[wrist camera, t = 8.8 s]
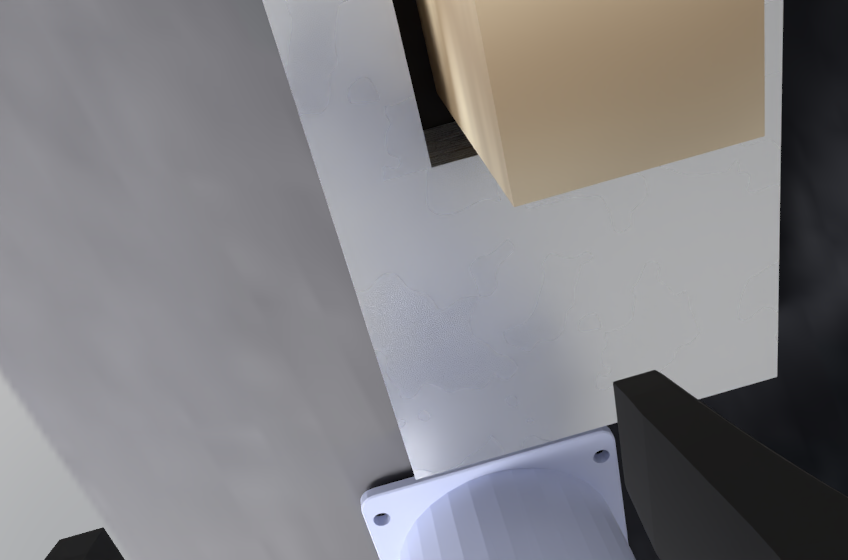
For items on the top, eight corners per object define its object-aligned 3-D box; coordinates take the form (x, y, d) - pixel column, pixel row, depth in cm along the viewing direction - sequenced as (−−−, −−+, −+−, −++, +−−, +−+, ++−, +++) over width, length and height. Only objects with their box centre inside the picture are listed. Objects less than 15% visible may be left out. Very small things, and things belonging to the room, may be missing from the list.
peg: (600, 47, 17) (764, 136, 11) (436, 92, 17) (514, 206, 11) (578, -143, 15) (764, -161, 9) (394, -93, 15) (459, -77, 9)
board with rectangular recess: (729, 327, 22) (776, 376, 20) (403, 419, 22) (416, 479, 19) (709, -499, 13) (793, -575, 11) (159, -360, 13) (131, -409, 11)
